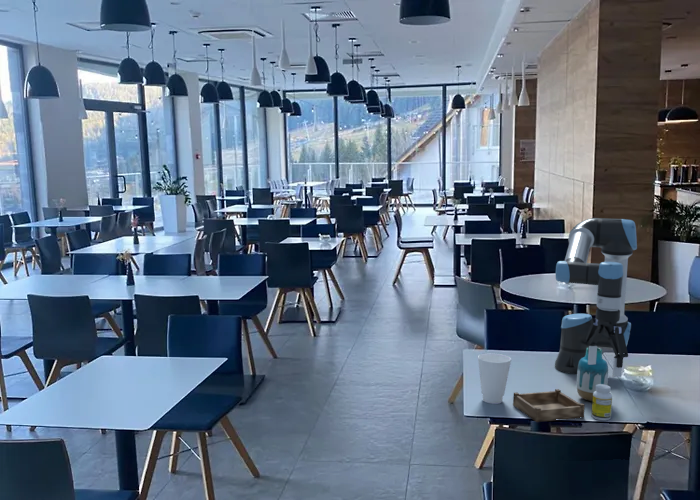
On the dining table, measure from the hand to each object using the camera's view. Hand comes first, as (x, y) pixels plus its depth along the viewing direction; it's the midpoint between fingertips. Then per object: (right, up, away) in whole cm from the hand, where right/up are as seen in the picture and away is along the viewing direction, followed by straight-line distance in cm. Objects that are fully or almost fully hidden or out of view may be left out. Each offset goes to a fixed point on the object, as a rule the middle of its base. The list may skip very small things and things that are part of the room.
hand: (603, 370), depth 225 cm
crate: (-17, -16, +7) cm, 24 cm away
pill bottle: (0, -17, +2) cm, 17 cm away
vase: (+3, -15, +19) cm, 24 cm away
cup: (-34, -14, +17) cm, 41 cm away
